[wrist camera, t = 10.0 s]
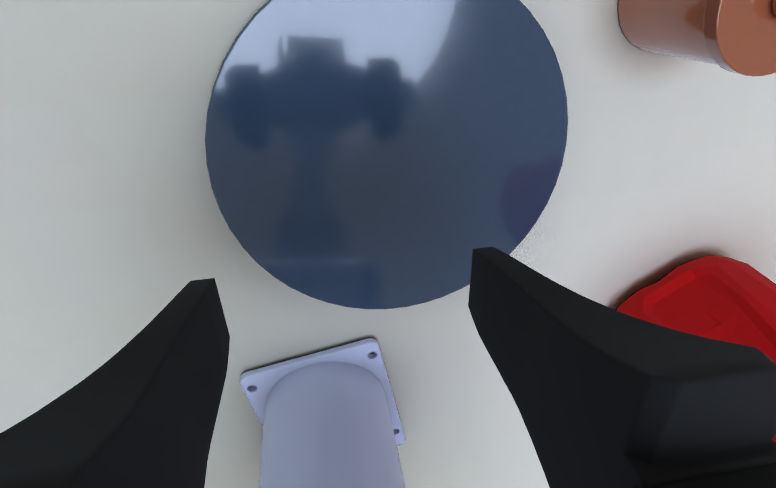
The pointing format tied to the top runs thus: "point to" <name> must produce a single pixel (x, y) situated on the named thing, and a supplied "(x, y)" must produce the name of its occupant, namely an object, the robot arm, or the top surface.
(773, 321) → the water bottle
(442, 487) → the top surface
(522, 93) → the plate
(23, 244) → the top surface
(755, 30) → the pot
